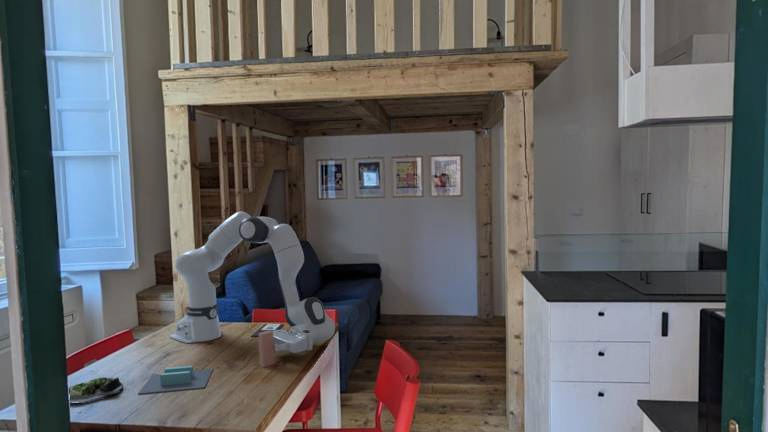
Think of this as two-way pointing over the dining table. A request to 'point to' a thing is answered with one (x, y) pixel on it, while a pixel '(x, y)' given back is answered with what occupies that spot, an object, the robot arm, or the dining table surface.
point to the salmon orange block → (266, 348)
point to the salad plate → (95, 389)
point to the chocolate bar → (267, 328)
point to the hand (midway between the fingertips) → (267, 345)
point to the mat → (196, 383)
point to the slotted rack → (177, 375)
